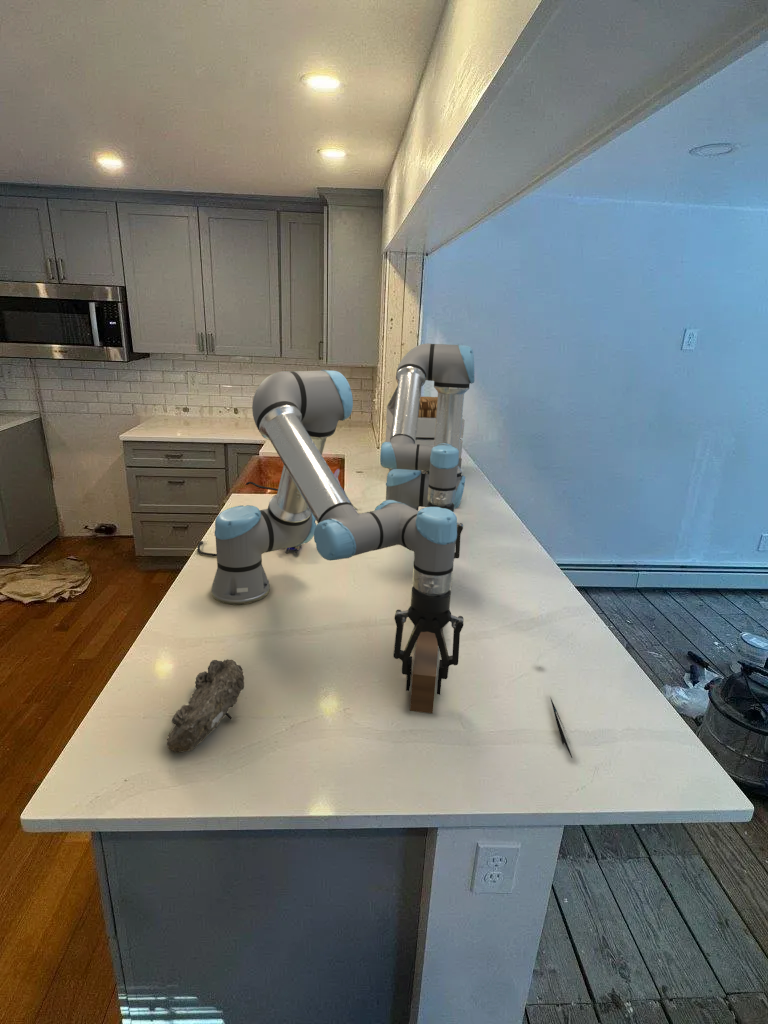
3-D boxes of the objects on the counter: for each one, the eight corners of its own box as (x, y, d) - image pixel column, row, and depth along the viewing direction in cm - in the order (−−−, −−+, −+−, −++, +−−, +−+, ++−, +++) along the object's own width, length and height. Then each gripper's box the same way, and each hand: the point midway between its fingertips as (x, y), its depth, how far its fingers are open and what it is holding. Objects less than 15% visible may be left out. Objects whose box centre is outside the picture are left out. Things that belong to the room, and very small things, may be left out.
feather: (540, 672, 128) (545, 666, 127) (572, 762, 101) (579, 755, 101) (533, 668, 128) (539, 662, 127) (564, 758, 101) (571, 750, 100)
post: (427, 574, 170) (429, 547, 167) (442, 575, 170) (444, 549, 167) (409, 710, 112) (412, 673, 109) (432, 713, 112) (435, 676, 109)
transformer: (382, 463, 289) (386, 382, 275) (445, 464, 293) (451, 384, 279) (390, 482, 257) (394, 392, 243) (460, 483, 261) (468, 394, 247)
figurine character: (301, 560, 179) (306, 537, 192) (301, 539, 175) (306, 517, 189) (280, 559, 178) (286, 536, 192) (279, 538, 175) (286, 516, 188)
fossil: (192, 660, 117) (244, 628, 112) (224, 691, 120) (276, 661, 115) (142, 746, 98) (202, 712, 93) (182, 779, 101) (242, 748, 96)
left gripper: (380, 591, 106) (376, 694, 114) (481, 602, 104) (469, 706, 112) (385, 574, 113) (381, 672, 121) (479, 583, 111) (468, 682, 119)
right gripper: (406, 503, 154) (401, 580, 162) (475, 509, 152) (467, 586, 160) (408, 495, 161) (404, 569, 169) (474, 500, 159) (466, 575, 167)
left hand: (423, 688), depth 116 cm, fingers open, 5 cm apart
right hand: (434, 577), depth 165 cm, fingers open, 5 cm apart
